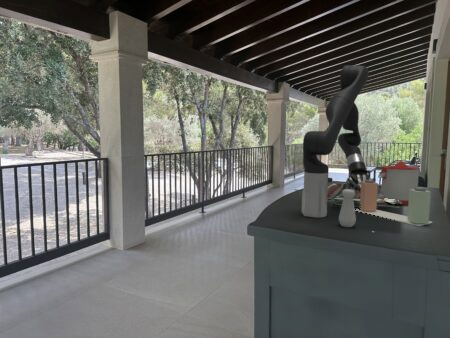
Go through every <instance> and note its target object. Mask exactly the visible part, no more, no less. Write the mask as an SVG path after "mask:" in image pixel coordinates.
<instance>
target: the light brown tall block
mask: <svg viewBox="0 0 450 338" xmlns="http://www.w3.org/2000/svg"><path fill="white" fill-rule="evenodd" d="M378 188H379V183H378V182H376V181H375V182H374V180H365V181H361V193H360V192H359V196H360V197H359V205H360V204H361V205H362V207H361V208H360V207H359V208H360V209H362V210H364V211H376V210H377V206H378V204H377V203H378Z"/></svg>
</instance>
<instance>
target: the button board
mask: <svg viewBox="0 0 450 338" xmlns="http://www.w3.org/2000/svg"><path fill="white" fill-rule="evenodd" d="M355 209H356V210H355V212H356V211H358V212H357V213H360V212H362V214H365V213H367V214H366V215H369V214H371V215H370V216H373V215H375V216H374V217H377V216H379V217H378V218H382V217H383V218H384V219H386V218H387V219H386V220H390V219H391V220H390V221H394V220H395V221H396V222H399V223H403V224H407V225H410V226H411V225H413V226H416V227H423V226H425V225H427V224H424V223H413V222H411V221H409V220H407V218H408V215H403V214H398V213H393V212H388V211H384V210H380V209H376V211H364V210H362V209H361V210H359V209H358V208H355ZM395 221H394V222H395ZM429 224H433V221H430V220H429ZM429 224H428V225H429Z"/></svg>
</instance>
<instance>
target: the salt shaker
mask: <svg viewBox="0 0 450 338" xmlns="http://www.w3.org/2000/svg"><path fill="white" fill-rule="evenodd" d="M355 195H356V190H354V189H350V188H346V189H345V188H344V189H342V191H341V196H343V198H342V199H343V200H342V203H341V207H340V210H339V215H338V221H339V224H340V226H341V227H344V228H353V227H354V225H355V223H356V221H357V216H356V211H355V209H356V208H355V202H354V197H356V196H355Z"/></svg>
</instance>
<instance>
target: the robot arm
mask: <svg viewBox="0 0 450 338" xmlns="http://www.w3.org/2000/svg"><path fill="white" fill-rule="evenodd" d="M369 72H370V71H369V68H368V67H367V66H365V65H355V64H353V65H352V64H351V65H349V64H347V65H344V66H343V67H342V69H341V70H340V76H339V83H340V84H339V86H340V91H338V92H336V93H335V94H334V95H333V96H332V97H331V98H330V100H329V102H328V104H327V105H326V109H325V116H326V119H327V122H328V126H327V127H326V129H325V130H323V131H322V130H318V131H317V130H309V131H307V132H306V133H305V134H304V136H303V140H302V141H303V142H302V161H303V162H302V164H303V173H304V174H303V189H302V190H301V214H302V215H303V217H309V218H326V217H327V213H328V190H329V189H328V188H329V186H328V185H329V168H330V167H329V165H328V164H326V163H324V162H322V161H321V160H319V158H318V156H328V155H330V154H331V153H332V151H333V150H334V149H335V145H336V143H338V145H339V147H340V149H341V150H342V151H343V153H344V155H345V158H346V159H345V160H346V165H347V169H348V173H349V177H346V181H345V184H347V185H348V186H349V187H350V188H352V190H354V191H358V192H359V194H360V193H361V181H365V180H374V182H376V178H371V177H370V175H369V174H368V169H367V167H366V161H365V159H364V157H363V154H362V152H361V151H362V150H361V148H360V147H359V146H360V145H361V143H362V137H361V134H360V130H359V109H358V106H357V105H356V103H355V101H356V100H357V98H358V97H359V94H360V92H362V90H363V89H364V87H365V85H366V83H367V81H368V78H369ZM342 128H343V130H345V131H350V132H344V133H340V132H341V130H342Z"/></svg>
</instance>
